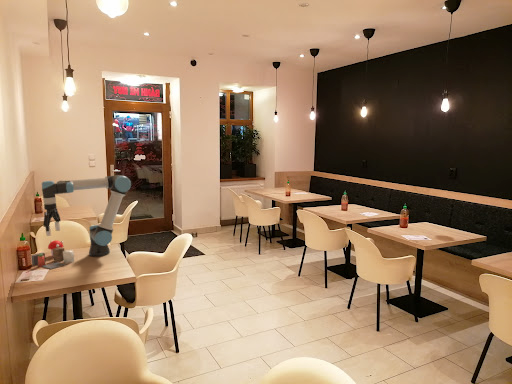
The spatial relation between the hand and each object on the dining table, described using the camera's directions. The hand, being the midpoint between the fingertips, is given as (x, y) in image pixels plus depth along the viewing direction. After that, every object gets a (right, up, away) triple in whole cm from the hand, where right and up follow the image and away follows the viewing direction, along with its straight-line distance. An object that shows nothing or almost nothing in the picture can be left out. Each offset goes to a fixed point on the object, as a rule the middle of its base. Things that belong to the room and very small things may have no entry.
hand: (53, 233), depth 269 cm
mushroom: (-13, -21, +29) cm, 38 cm away
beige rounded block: (+4, -23, +13) cm, 26 cm away
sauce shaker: (-11, -24, +5) cm, 27 cm away
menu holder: (-16, -23, +10) cm, 30 cm away
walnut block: (-5, -22, +17) cm, 28 cm away
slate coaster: (-2, -24, +4) cm, 24 cm away
